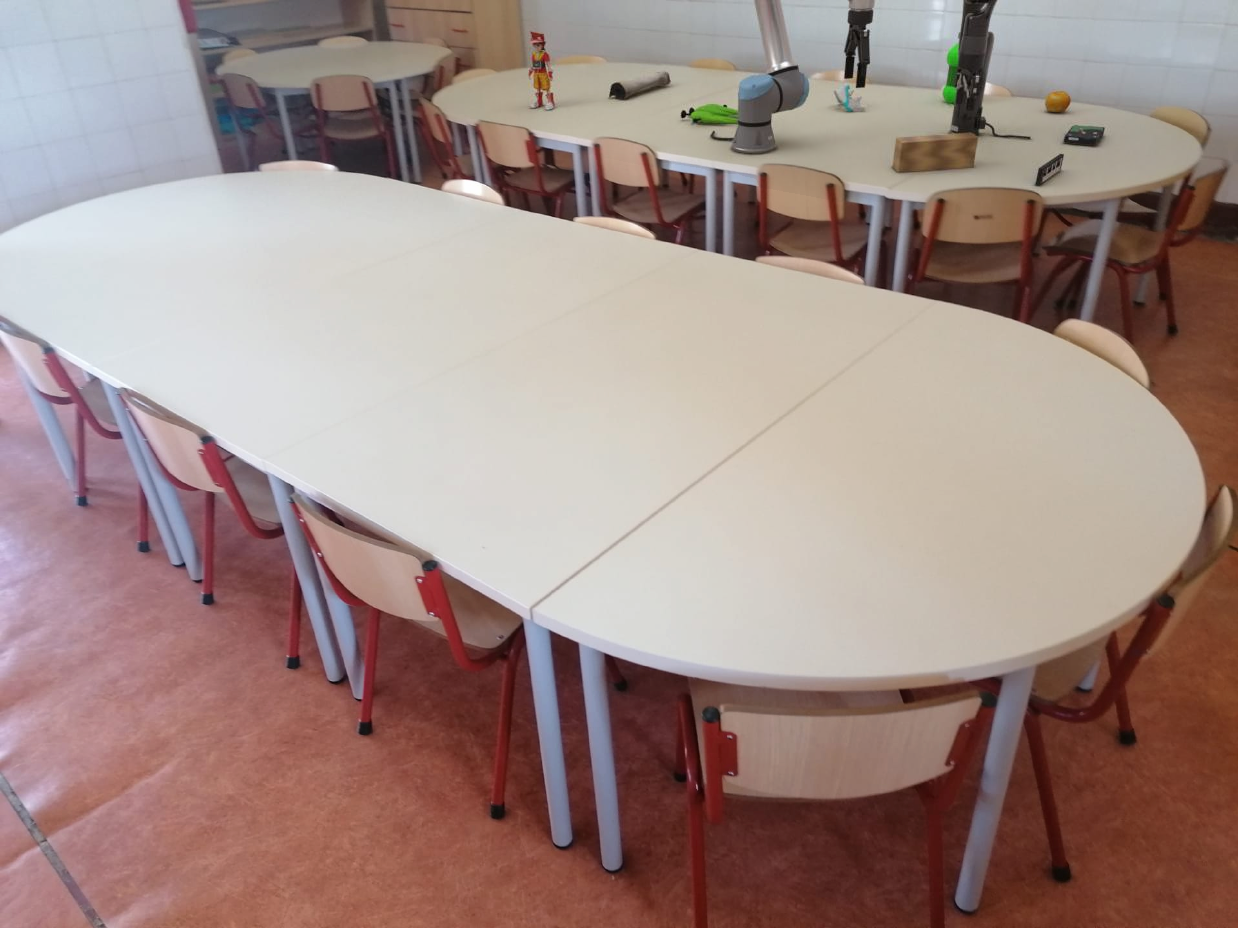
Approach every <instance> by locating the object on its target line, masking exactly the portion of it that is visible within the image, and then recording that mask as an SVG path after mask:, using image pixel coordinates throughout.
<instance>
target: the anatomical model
mask: <svg viewBox="0 0 1238 928" xmlns="http://www.w3.org/2000/svg"><path fill="white" fill-rule="evenodd" d="M850 89H851V87H850V84H848V83H847V82H844V81H843V82H842V84H841V85H840V86H839V87H836V88H834V90H833V94H834V96H835V98H836V100H837V102H838V104H841V105H843V106H844V108H845V110H846V111H847V112H849V113H850V112H854V111H859V110H860V111H863V110H864V111H865V109H866V108H867V106H866V105H861V104H860V101H861V100H862V99H863V96H862V95H860V96H857V97H855V98H853V97H852V95H853V93H854V92H855V89H854V90H851V91H849V90H850Z"/></svg>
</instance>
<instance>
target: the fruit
mask: <svg viewBox="0 0 1238 928" xmlns="http://www.w3.org/2000/svg"><path fill="white" fill-rule="evenodd" d="M1071 102H1072V99H1071V96H1070V94H1069V93H1067V92H1066V91H1063V90H1055V91H1052V92H1050V93H1049V94H1048V95H1047V96H1046V98H1045V101H1044V107H1045V109H1046V110H1047V111H1048V112H1051V113H1061V112H1065V111H1066V110H1067V109H1068V108H1069V106H1070V105H1071Z"/></svg>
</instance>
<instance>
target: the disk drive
mask: <svg viewBox="0 0 1238 928" xmlns="http://www.w3.org/2000/svg"><path fill="white" fill-rule="evenodd" d="M1105 129H1106V127H1104V126H1093V125H1078V124H1074V125H1072V126H1071V127H1070V128H1069V130H1068V131H1067V132H1066V134H1064V138H1063V143H1066V144H1071V145H1080V146H1097V145H1098V143H1099V141H1100V140H1101V139H1102V137H1103V136H1104V134H1105Z"/></svg>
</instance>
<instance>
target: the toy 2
mask: <svg viewBox="0 0 1238 928" xmlns="http://www.w3.org/2000/svg"><path fill="white" fill-rule="evenodd" d="M688 109H689V110H688V112H687V111H686V110H685V109H682V110H681V112H680V118H681V119H685V118H687V116H688V117H690V119H691V120H692V123H693V124H698V123H701V124H711V123H713V124H738V118H734V116H738V109H734V108H732V107H731V108H730V107H728V105H727V104H722V105H720V104H717V103H708V104H704V105H701V106H699V107H697V108H695V109H694V108H693V107H690V108H688Z"/></svg>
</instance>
